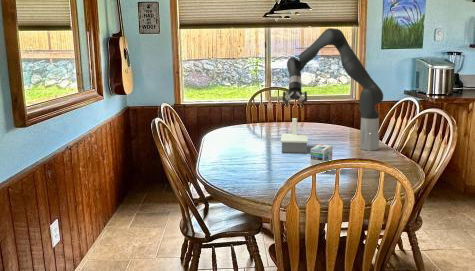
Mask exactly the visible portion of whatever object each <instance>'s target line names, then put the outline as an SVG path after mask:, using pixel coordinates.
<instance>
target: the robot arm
mask: <svg viewBox="0 0 475 271" xmlns="http://www.w3.org/2000/svg"><path fill="white" fill-rule="evenodd" d="M326 46H334V47H335V49H336V50H337V51H338V53H339V55H340V61H341V62H340V63H341V66H342V68H343V70H344V71H345V73H346V74H347V75H348V76H349V77H350V78H351V79H352V80H354V81H355V82H356V83H357V84H359V85H360V86H361V87H362V90H361V92H360V94H359V112H360V132H359V133H360V134H359V135H360V136H359V149H360V150H362V151H369V152H371V151H372V152H373V151H378V150H379V146H380V132H379V128H380V127H379V125H380V124H379V122H380V112H378V111H377V110H376V105H379V104H381V103H382V102H383V101H384V93H383V91H382V89H381V88H380V87H379V85H378V84H377V83H376V81H374V79H373V78H372V77H371V75H370V73H368V71H367V70H366V68H365V67H364V65H363V63H362V62H361V61H360V59H359V57H358V56H357V55H356V53H355V52H354V50H353V49H352V47H351V46H350V44H349V42H348V40H347V39H346V36H345V35H344V33H343V31H342V30H341V29H338V28H332V27H331V28H327V29H325V30H324V31H323V32H322V33H321V34H320V35H319V36H318V37H317V38H316V40H315V41H314V42H312V44H311V45H310V46H308V47H307V48H306V49H305V50H303V51H302V52H301V53H300V54H299V55H298V58H296V57H294V56H292V57H290V58H288V60H287V61H286V62H287V63H286V67H287V71H288V75H289V76H288V77H289V80H288V91H287V92H286V91H283V93H282V103H284V102H285V107H286V108H289V102H291V100H298V101H300V102H301V108H302V109H303V107H305V103H307V102H308V91H306V90H305V91H304V92H303V91H302V73H301V72H302V71H303V69H304V68H305V67H306V65H307V64H308V63H309V62H310V61H312V60H313V59H315V57H317V55H318V54H319V52H320V51H321V49H323V48H325V47H326ZM286 96H287V97H286ZM303 97H304V98H303Z"/></svg>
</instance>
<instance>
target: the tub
mask: <svg viewBox="0 0 475 271" xmlns="http://www.w3.org/2000/svg"><path fill="white" fill-rule="evenodd" d="M307 152H308V143H292V142H281V154H300V155H303V154H305V155H306V154H307Z"/></svg>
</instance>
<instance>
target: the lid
mask: <svg viewBox="0 0 475 271" xmlns="http://www.w3.org/2000/svg"><path fill="white" fill-rule="evenodd" d="M291 120H292V121H291V122H292V125H291V126H292V129H291V133H281V138H280V143H282V142H292V143H307V144H308V143H309V138H308V133H298V117H297V118H295V117H293V118H291Z"/></svg>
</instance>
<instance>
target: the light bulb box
mask: <svg viewBox="0 0 475 271" xmlns="http://www.w3.org/2000/svg"><path fill="white" fill-rule="evenodd" d="M329 160H332V161H333V145H330V144H329V145H328V144H320V143H319V144H317V145H315V146H313V147H312V148H310V166H311V165H314V164H317V163H320V162H324V161H329ZM310 166H309V167H310ZM325 173H326V172H324V173H322V174H325Z"/></svg>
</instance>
